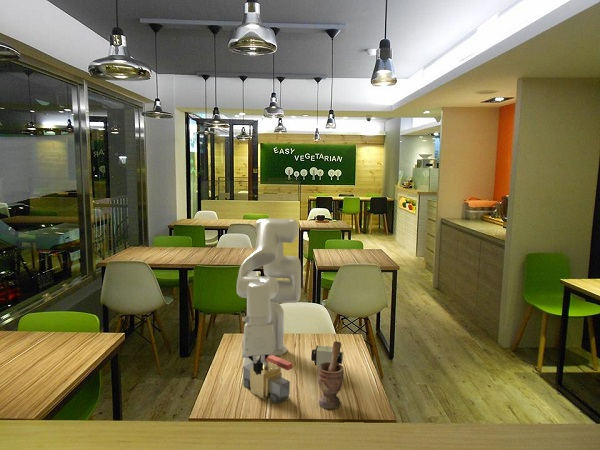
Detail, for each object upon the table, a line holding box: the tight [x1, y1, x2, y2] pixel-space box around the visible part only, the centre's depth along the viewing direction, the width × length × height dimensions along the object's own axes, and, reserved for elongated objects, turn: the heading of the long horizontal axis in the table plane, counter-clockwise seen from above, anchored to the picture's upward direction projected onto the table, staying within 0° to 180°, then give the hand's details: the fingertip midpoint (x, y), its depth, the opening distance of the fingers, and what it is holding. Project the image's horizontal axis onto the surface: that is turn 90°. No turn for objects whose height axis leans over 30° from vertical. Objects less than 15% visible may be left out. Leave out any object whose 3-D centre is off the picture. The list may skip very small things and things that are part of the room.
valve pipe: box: [242, 360, 291, 405], centre depth 161 cm, size 20×8×12 cm, turn 45°
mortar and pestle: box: [317, 340, 345, 410], centre depth 155 cm, size 12×9×20 cm
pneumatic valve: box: [310, 345, 344, 367], centre depth 175 cm, size 6×12×12 cm, turn 78°
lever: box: [265, 355, 294, 371], centre depth 157 cm, size 14×4×2 cm, turn 47°
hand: (258, 372), depth 151 cm, fingers closed
